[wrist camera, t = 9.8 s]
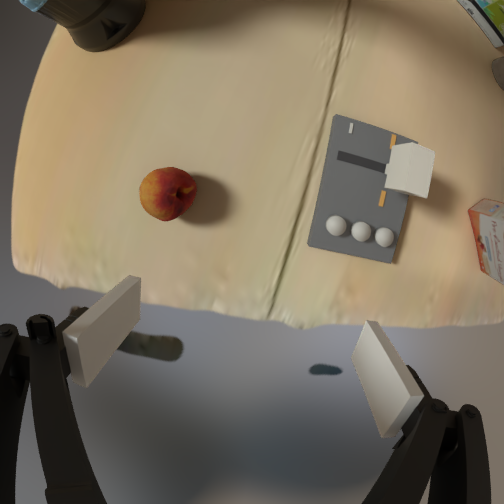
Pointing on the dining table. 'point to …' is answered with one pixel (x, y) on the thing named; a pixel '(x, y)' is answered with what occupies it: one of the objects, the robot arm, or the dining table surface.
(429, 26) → the dining table surface
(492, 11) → the tea box
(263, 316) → the dining table surface
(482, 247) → the cracker box
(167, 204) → the fruit
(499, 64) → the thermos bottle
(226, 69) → the dining table surface
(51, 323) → the robot arm
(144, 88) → the dining table surface
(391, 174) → the block
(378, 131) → the console
